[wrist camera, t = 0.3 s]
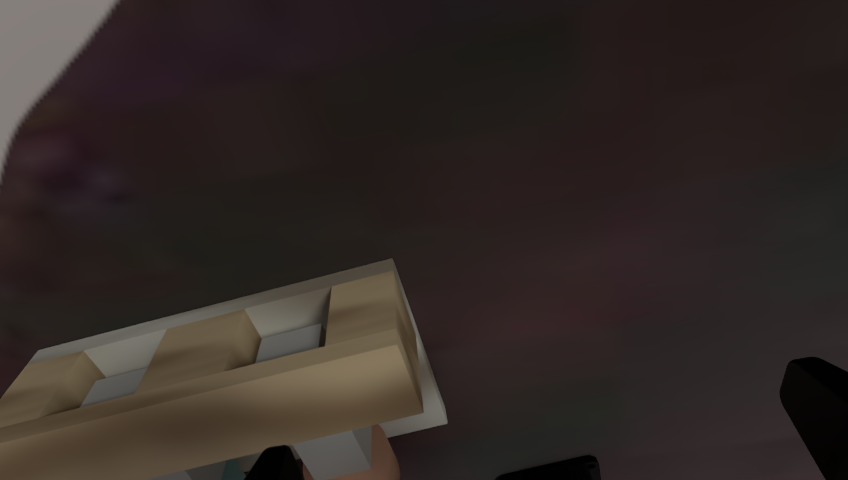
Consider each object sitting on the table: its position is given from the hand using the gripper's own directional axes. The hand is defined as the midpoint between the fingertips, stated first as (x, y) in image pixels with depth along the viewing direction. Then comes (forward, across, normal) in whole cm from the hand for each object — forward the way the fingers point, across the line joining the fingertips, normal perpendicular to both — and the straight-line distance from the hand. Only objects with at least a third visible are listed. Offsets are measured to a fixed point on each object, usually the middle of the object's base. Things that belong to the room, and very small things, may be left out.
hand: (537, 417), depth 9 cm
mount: (+14, +12, +12) cm, 22 cm away
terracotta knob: (+13, +8, +12) cm, 19 cm away
